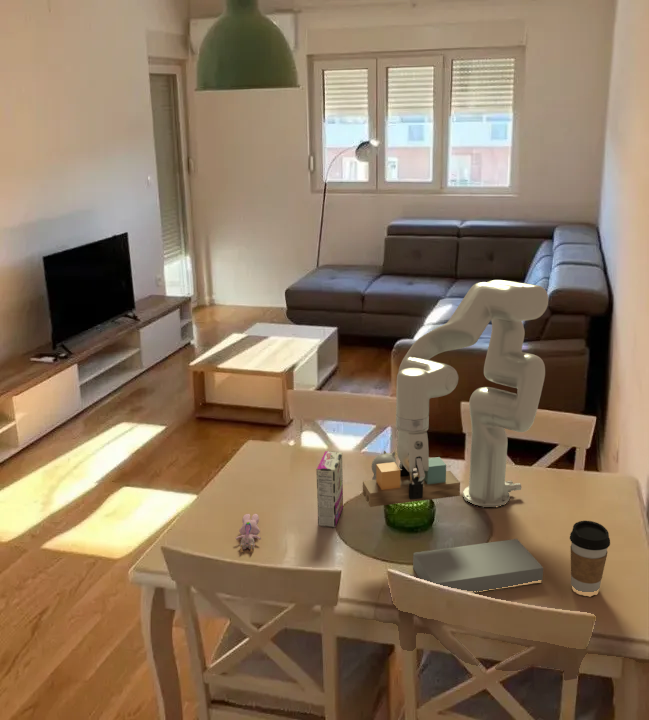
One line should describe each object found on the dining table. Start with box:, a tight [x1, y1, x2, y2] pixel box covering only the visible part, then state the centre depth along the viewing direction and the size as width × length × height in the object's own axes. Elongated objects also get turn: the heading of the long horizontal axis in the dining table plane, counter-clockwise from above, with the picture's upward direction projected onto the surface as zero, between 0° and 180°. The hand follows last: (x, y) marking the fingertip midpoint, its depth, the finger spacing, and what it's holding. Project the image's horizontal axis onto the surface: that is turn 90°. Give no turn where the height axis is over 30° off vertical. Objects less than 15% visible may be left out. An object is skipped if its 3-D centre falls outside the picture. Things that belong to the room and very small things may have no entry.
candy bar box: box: [315, 450, 344, 528], centre depth 207 cm, size 11×5×16 cm, turn 168°
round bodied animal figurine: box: [371, 450, 398, 480], centre depth 229 cm, size 7×12×8 cm, turn 159°
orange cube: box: [376, 462, 401, 490], centre depth 187 cm, size 4×4×4 cm
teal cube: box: [424, 456, 447, 484], centre depth 189 cm, size 4×4×4 cm
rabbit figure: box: [235, 513, 261, 554], centre depth 198 cm, size 6×6×15 cm
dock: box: [412, 538, 544, 594], centre depth 182 cm, size 26×13×4 cm, turn 103°
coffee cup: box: [569, 520, 611, 592], centre depth 174 cm, size 8×8×15 cm
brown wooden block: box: [362, 470, 461, 508], centre depth 189 cm, size 22×6×4 cm, turn 102°
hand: (410, 490), depth 189 cm, fingers closed on brown wooden block, 6 cm apart
